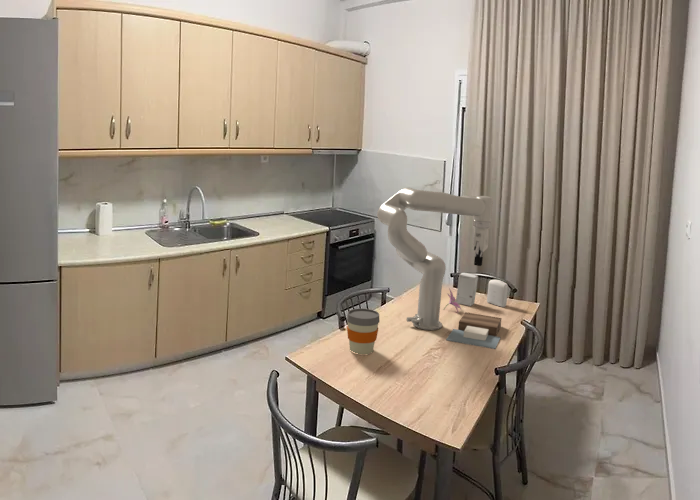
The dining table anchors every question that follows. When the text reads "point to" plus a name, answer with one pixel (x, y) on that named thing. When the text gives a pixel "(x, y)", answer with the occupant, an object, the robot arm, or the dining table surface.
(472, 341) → the mat
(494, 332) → the block
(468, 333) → the tile
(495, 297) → the photo printer
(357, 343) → the reusable coffee cup
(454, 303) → the lily
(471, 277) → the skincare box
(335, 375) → the dining table surface
